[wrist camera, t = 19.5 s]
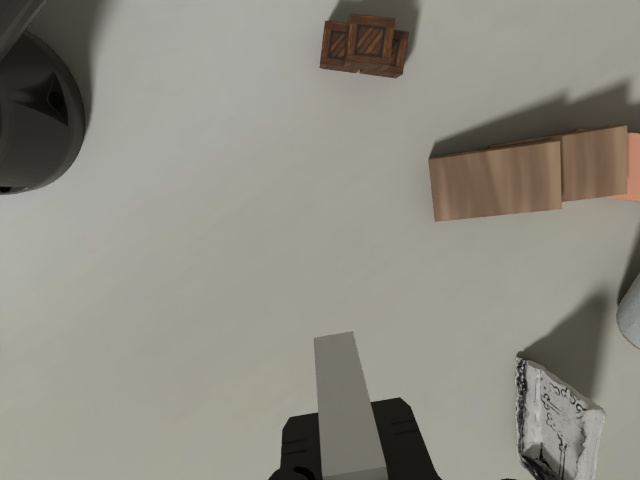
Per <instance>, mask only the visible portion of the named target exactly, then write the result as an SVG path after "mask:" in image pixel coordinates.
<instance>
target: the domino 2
mask: <svg viewBox="0 0 640 480" xmlns="http://www.w3.org/2000/svg"><path fill="white" fill-rule="evenodd" d="M554 139H555V140H558V141H560V161H561V201H562V202H564V201H573V200H581V199H590V198H598V197H607V196H615V195H624V194H627V126H625V125H614V126H608V127H602V128H595V129H589V130H583V131H577V132H570V133H564V134H558V135H552V136H546V137H539V138H533V139H527V140H521V141H514V142H508V143H502V144H496V145H489V146H488V148H489V149H492V148H499V147H506V146H513V145H519V144H526V143H533V142H540V141H547V140H554Z"/></svg>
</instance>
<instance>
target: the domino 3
mask: <svg viewBox="0 0 640 480" xmlns="http://www.w3.org/2000/svg"><path fill="white" fill-rule="evenodd" d="M583 130H589V129H575V132H577V131H583ZM605 198H614V199H622V200H630V201H639V202H640V134H639V133H627V194H624V195H615V196H607V197H605Z"/></svg>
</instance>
